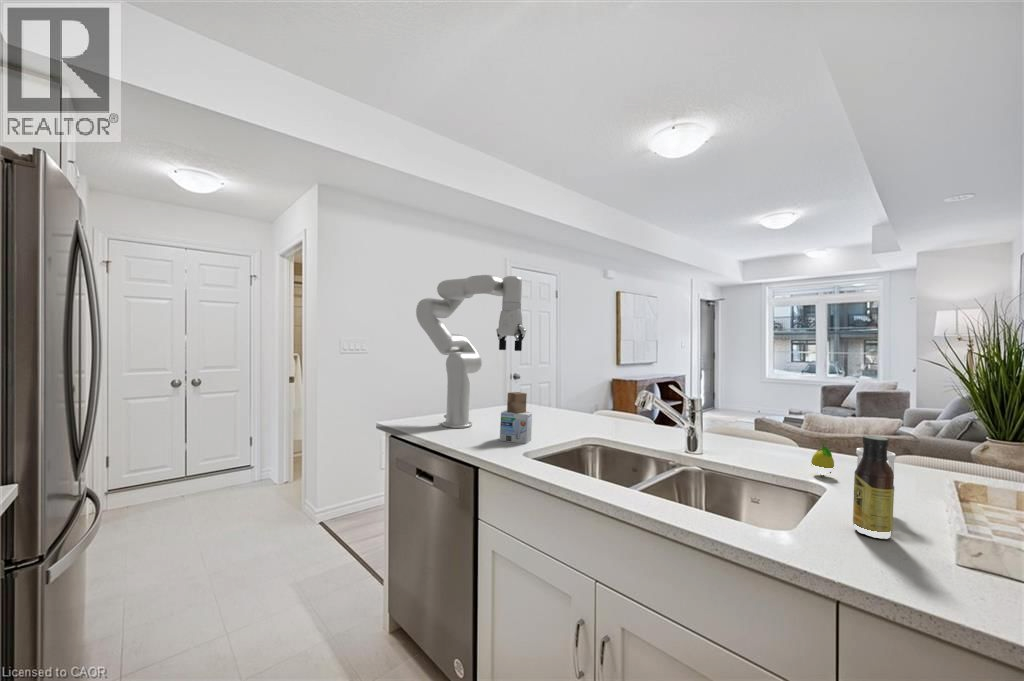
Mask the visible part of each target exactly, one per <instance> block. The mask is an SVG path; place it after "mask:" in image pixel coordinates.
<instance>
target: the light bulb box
mask: <svg viewBox="0 0 1024 681" xmlns="http://www.w3.org/2000/svg"><path fill="white" fill-rule="evenodd" d="M499 427H500V430H499V441H500V442H508V443H515V444H516V443H517V444H524V445H525V444H526V445H527V444H529V443H530V442H531V441H532V433H533V432H532V427H533V412H532V411H526V412H524V413H512V412H508V411H507V409H505V410H503V411H501V412H500V425H499Z"/></svg>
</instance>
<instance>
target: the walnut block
mask: <svg viewBox="0 0 1024 681" xmlns="http://www.w3.org/2000/svg"><path fill="white" fill-rule="evenodd" d="M527 395H528V394H527V393H526V392H521V391H520V392H519V391H513V392H511V391H510V392H507V401H506V402H507V405H506V410H507V411H508V412H512V413H524V412H527V398H528V397H527Z"/></svg>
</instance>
